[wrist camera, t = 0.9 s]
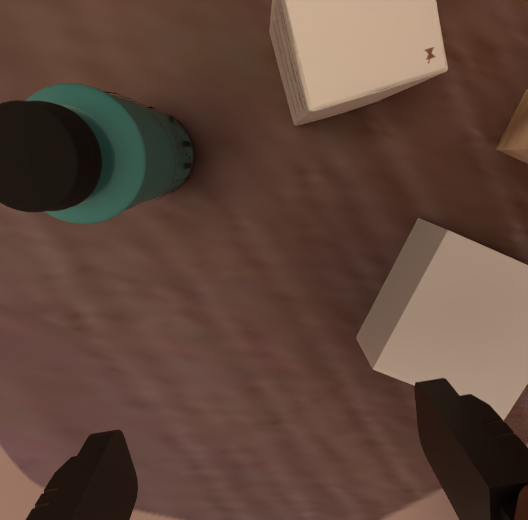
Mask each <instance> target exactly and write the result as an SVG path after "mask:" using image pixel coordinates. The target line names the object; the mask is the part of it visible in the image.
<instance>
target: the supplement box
mask: <svg viewBox="0 0 528 520" xmlns="http://www.w3.org/2000/svg"><path fill="white" fill-rule="evenodd" d="M269 33H270V37H271V40H272V44H273V48H274V52H275V55H276V59H277V63H278V67H279V71H280V75H281V79H282V82H283V86H284V90H285V94H286V98H287V101H288V105H289V109H290V113H291V116H292V120H293V123H294V125H295V126H298V125H302V124H305V123H309V122H313V121H317V120H320V119H324V118H327V117H331V116H335V115H338V114H341V113H344V112H347V111H350V110H354V109H357V108H360V107H363V106H365V105H368V104H371V103H374V102H378V101H380V100H382V99H384V98H387V97H389V96H391V95H393V94H396V93H398V92H400V91H403V90H405V89H407V88H410V87H412V86H414V85H417V84H419V83H421V82H423V81H426V80H428V79H430V78H433V77H435V76H437V75H439V74H442V73H444V72H446V71H447V70H448V65H447V60H446V54H445V49H444V44H443V38H442V33H441V27H440V21H439V16H438V9H437V3H436V0H272V8H271V19H270V28H269Z"/></svg>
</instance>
